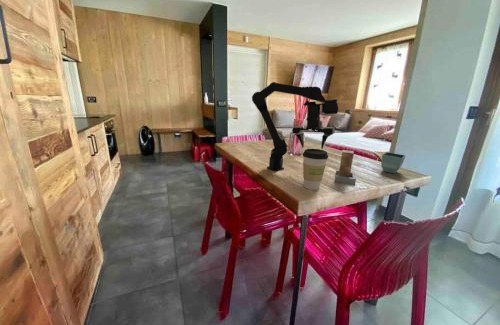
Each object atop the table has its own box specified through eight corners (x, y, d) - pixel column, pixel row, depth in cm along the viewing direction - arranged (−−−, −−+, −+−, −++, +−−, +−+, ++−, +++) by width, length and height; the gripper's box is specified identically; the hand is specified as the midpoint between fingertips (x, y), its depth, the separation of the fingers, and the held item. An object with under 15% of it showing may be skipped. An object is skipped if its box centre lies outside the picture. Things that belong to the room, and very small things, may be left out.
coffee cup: (320, 193, 83) (325, 155, 78) (295, 187, 88) (299, 151, 83) (326, 185, 91) (331, 150, 86) (303, 180, 96) (307, 147, 91)
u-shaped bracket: (334, 181, 96) (335, 176, 95) (335, 174, 104) (336, 169, 103) (355, 184, 93) (356, 179, 92) (354, 177, 101) (355, 172, 100)
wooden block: (337, 180, 97) (342, 152, 94) (338, 176, 101) (342, 149, 98) (348, 181, 96) (353, 153, 92) (348, 178, 100) (353, 151, 96)
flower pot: (401, 171, 112) (405, 155, 109) (398, 175, 105) (402, 158, 103) (382, 167, 117) (386, 151, 115) (378, 171, 111) (381, 154, 109)
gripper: (337, 113, 103) (335, 145, 107) (299, 114, 112) (298, 143, 116) (333, 115, 94) (331, 150, 98) (291, 116, 103) (291, 148, 107)
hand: (312, 148), depth 105 cm, fingers open, 9 cm apart
